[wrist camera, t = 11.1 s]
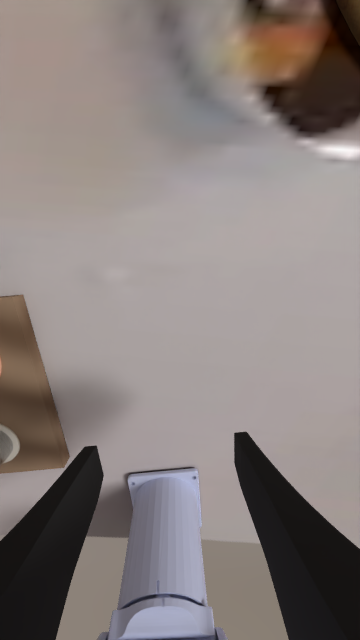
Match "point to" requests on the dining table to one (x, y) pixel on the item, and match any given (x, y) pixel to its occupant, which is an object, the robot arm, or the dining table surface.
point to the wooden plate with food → (351, 15)
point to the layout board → (25, 397)
